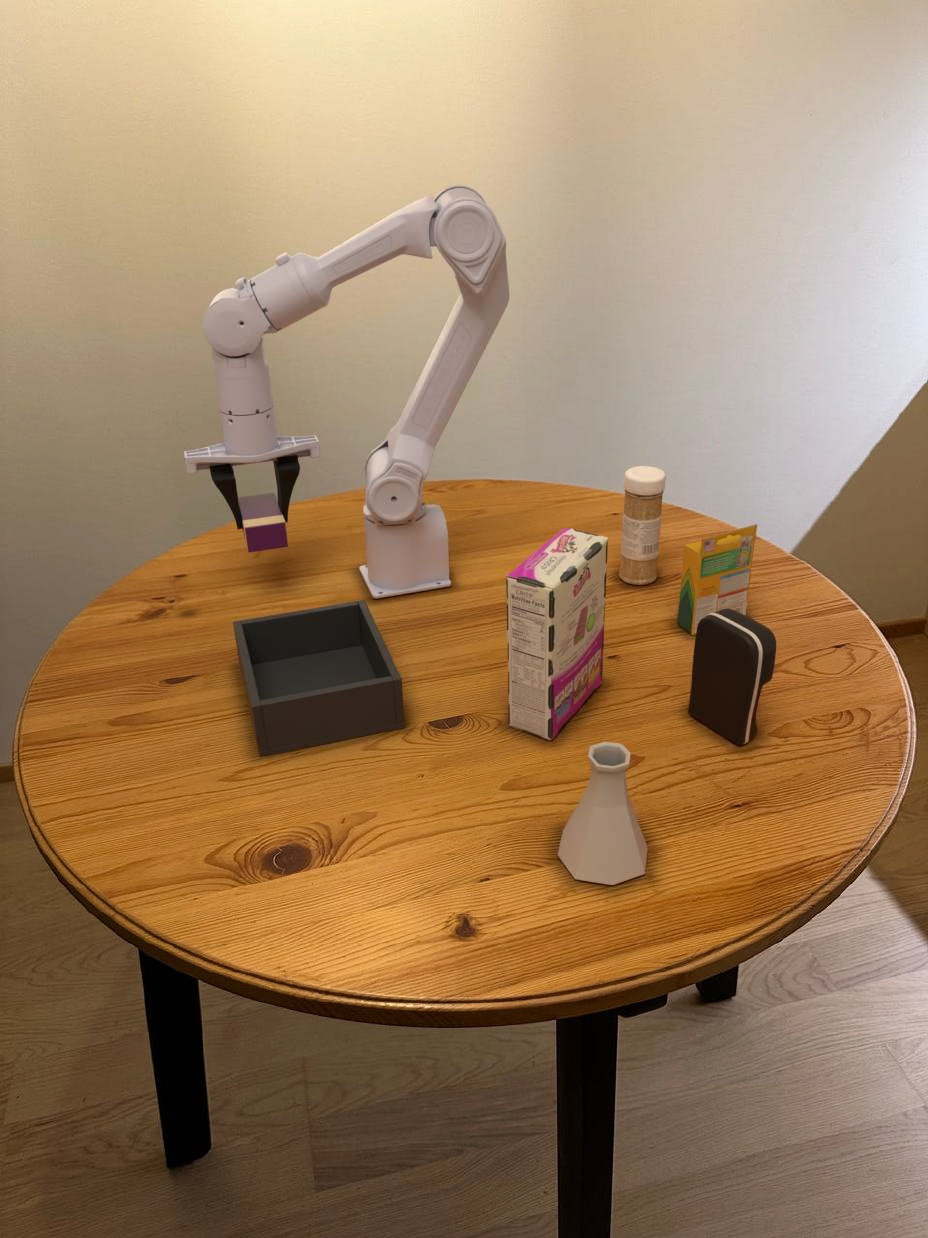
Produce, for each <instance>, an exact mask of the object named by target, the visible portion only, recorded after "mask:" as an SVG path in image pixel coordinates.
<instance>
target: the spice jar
mask: <svg viewBox="0 0 928 1238" xmlns="http://www.w3.org/2000/svg"><path fill="white" fill-rule="evenodd" d="M666 479H667V478H666V473H665V471H663V470H662V469H661V468H658V467H655V466H649V465H639V466H633V467H630V468H629V469H626V470H625V472H624V479H623V488H624V490H623V491H624V503H623V511H622V524H621V525H622V526H621V539H620V540H621V541H620V542H621V543H620V565H619V571H618V577H619V579H621V580H622V581H623V582H624V583H627V584H628V585H634V586H645V585H649V584H652V583H653V582H655V581H656V579H657V577H658V572H657V566H658V565H657V564H658V556H659V552H660V541H661V528H662V518H663V517H662V516H663V515H662V508H663V494H664V492H665V489H666Z"/></svg>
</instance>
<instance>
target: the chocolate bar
mask: <svg viewBox="0 0 928 1238" xmlns="http://www.w3.org/2000/svg"><path fill="white" fill-rule="evenodd" d="M276 496H277V495H276V493H275V492H268V493H260V494H259V493H258V494H252V495H245V496H244V495H243V496H238V502H239V507H240V511H241V515H242V521H243V529H241V530H242V533H243V538H244V540H245V547H246V550H247V553H248V554H249V553H257V552H262V551H263V552H264V551H269V550H277V549H284V548H289V540H288V534H287V533H288V532H287V524H286V523H285V520H284V517H283V515H282V513H281V510H280V507H279V504H278V498H277V497H276Z"/></svg>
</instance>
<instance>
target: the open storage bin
mask: <svg viewBox="0 0 928 1238" xmlns="http://www.w3.org/2000/svg"><path fill="white" fill-rule="evenodd" d="M232 625H233V631H234V639H235V644H236V650H237V657H238V663H239V669H240V674H241V678H242V684H243V687H244V692H245V696H246V701H247V705H248V710H249V714H250V719H251V724H252V728H253V734H254V737H255V741H256V742H255V743H256V747H257V750H258V755H259V758H262V757H267V756H273V755H276V754H283V753H287V752H292V751H297V750H302V749H307V748H312V747H316V746H317V747H318V746H323V745H327V744H331V743H332V744H333V743H336V742H342V741H346V740H351V739H356V738H361V737H366V736H371V735H376V734H382V733H386V732H391V731H396V730H401V729H405V712H404V710H405V709H404V696H403V680H402V679H403V678H402V677H401V674H400V672H399V671H398V668H397V666H396V664H395V662H394V660H393V657H392V656H391V653H390V651H389V648H388V647H387V644H386V643H385V640H384V638H383V635H382V634H381V631H380V629H379V627H378V625H377V624H376V620H375V619H374V617H373V615H372V613H371V611H370V608H369V607H368V604H367V602H366V600H365V599H361V600H354V601H349V602H343V603H336V604H332V605H325V606H319V607H313V608H307V609H301V610H294V611H288V612H283V613H277V614H272V615H263V616H258V617H253V618H247V619H241V620H234V621H232Z"/></svg>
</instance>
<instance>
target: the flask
mask: <svg viewBox="0 0 928 1238" xmlns="http://www.w3.org/2000/svg"><path fill="white" fill-rule="evenodd" d="M631 756H632V754H631V752H630V751H629V750H628V749H627V748H626V746H624V744H623V743H619V742H610V741H602V742H599V743H595V744H592V745H590V746H589V751H588V755H587V761H588V763H589V764H590V766H591V767H590V776H589V779H588V782H587V786H586V788H585V790H584V791H583V793H582V796H581V798H580V799H579V801H578V803H577V805H576V807H575V809H574V810H573V811H572V814H570V815H571V816H570V817H569V818H568V820H567V821H566V824H565V826H564V827H563V830H562V833H561V838H560V841H559V845H558V846H559V847H558V851H557V856H558V858H559V860H561V862H562V863H563V865H564V866H565V867H566V869H567V870H568V871H569V873H570V874H571V876H572V877H573V879H575V880H578V881H585V882H591V883H597V884H603V885H608V886H614V885H617V884H620V883H623V882H625V881H628V880H631V879H634V878H637V877H640V876H642V875H645V874H646V869H647V868H646V867H647V858H648V849H649V848H648V845H647V842H646V839H645V836H644V833H643V831H642V828H641V826H640V824H639V821H638V818H637V816H636V813H635V809H634V806H633V804H632V801H631V798H630V795H629V791H628V785H627V776H626V770H629V768H630V763H631Z"/></svg>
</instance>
